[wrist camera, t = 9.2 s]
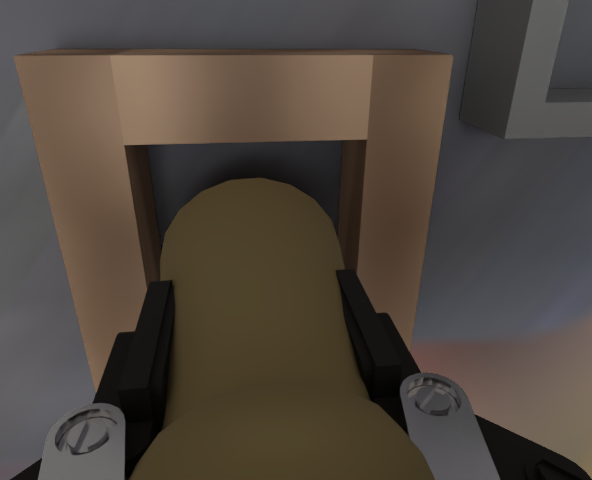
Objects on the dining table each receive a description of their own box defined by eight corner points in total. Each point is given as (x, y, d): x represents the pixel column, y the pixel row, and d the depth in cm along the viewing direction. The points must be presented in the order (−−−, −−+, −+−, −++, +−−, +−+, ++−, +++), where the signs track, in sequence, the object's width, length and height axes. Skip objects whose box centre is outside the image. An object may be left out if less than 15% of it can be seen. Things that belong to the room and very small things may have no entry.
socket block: (413, 49, 17) (453, 55, 14) (383, 326, 23) (406, 374, 20) (56, 49, 16) (13, 55, 13) (117, 346, 21) (98, 401, 18)
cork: (160, 169, 14) (-21, 561, 4) (354, 185, 15) (617, 521, 5) (160, 334, 16) (54, 829, 6) (326, 337, 17) (460, 764, 7)
